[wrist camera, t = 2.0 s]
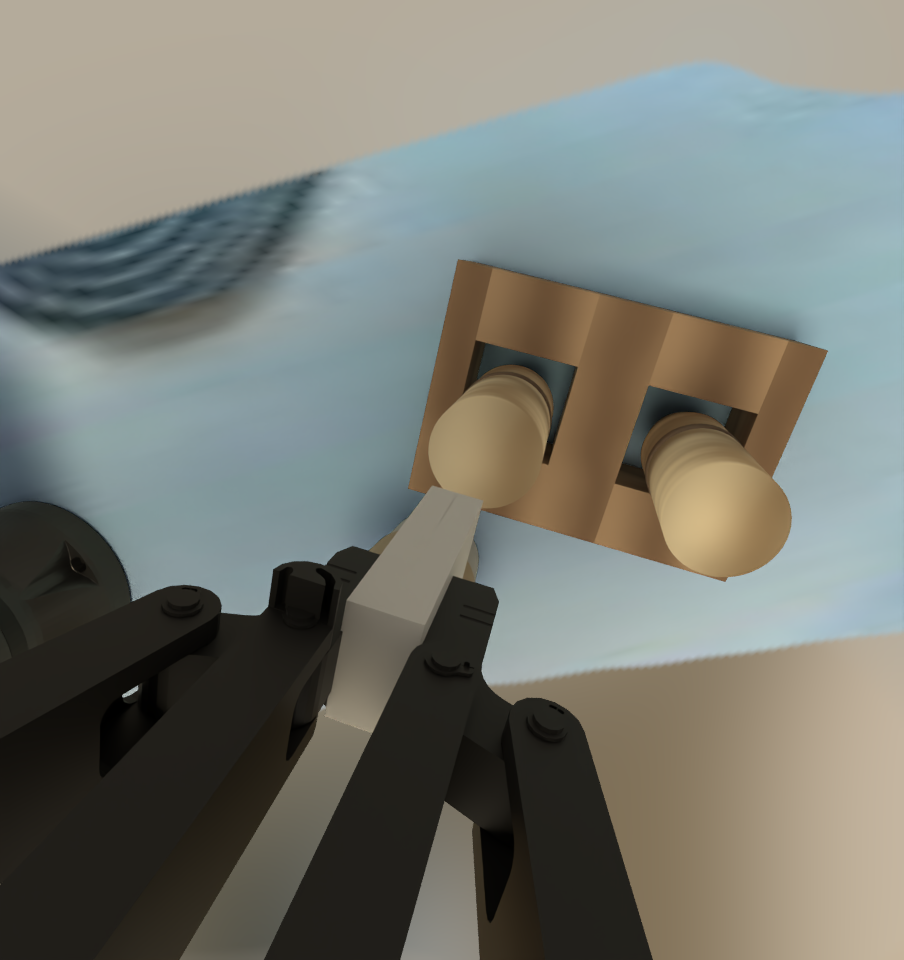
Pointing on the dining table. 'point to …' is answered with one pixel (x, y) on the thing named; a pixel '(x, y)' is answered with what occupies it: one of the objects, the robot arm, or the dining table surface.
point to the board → (611, 393)
